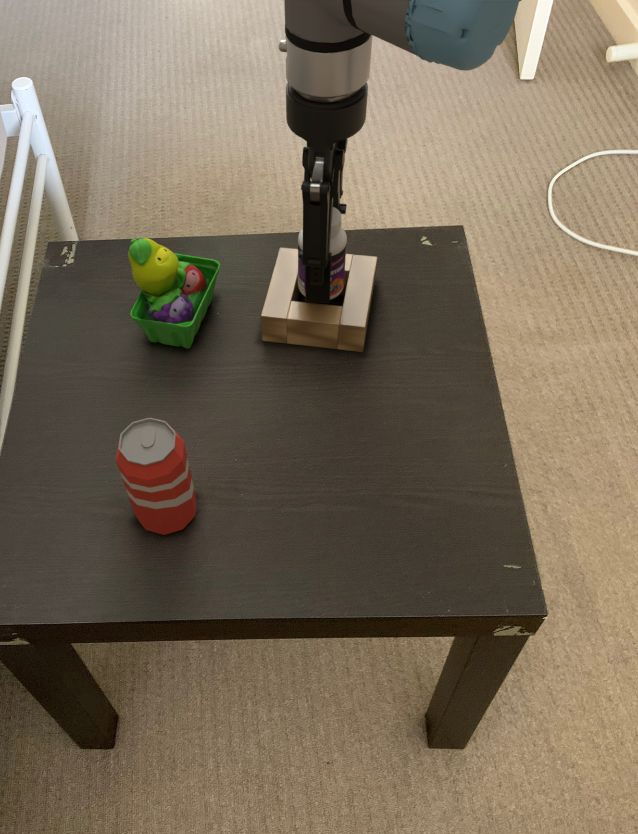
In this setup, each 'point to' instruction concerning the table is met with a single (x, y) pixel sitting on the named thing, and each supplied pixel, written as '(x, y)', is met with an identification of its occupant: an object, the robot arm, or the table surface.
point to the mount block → (318, 306)
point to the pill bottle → (337, 258)
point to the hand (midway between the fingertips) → (321, 281)
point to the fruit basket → (170, 292)
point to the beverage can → (156, 475)
